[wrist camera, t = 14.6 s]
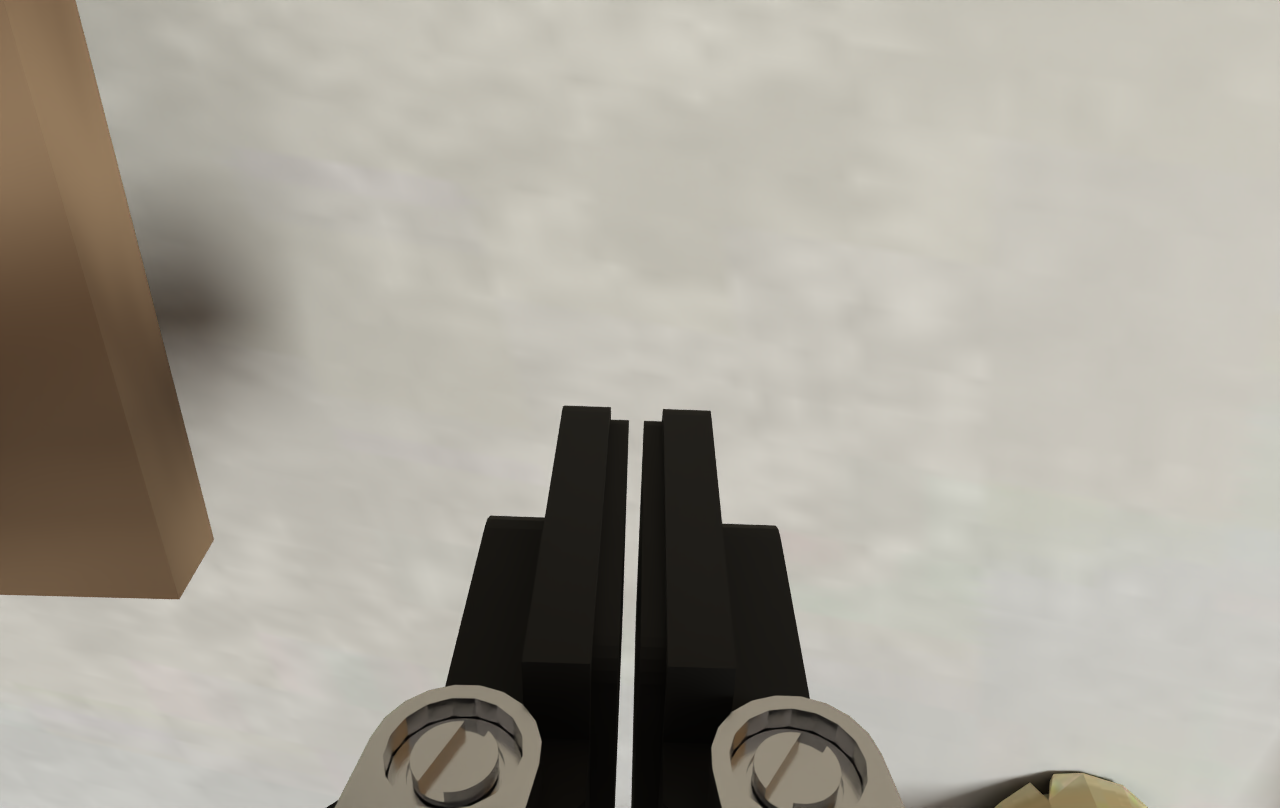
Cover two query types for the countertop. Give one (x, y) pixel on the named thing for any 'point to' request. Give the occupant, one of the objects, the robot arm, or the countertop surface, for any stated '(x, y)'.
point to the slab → (80, 345)
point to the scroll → (1074, 794)
